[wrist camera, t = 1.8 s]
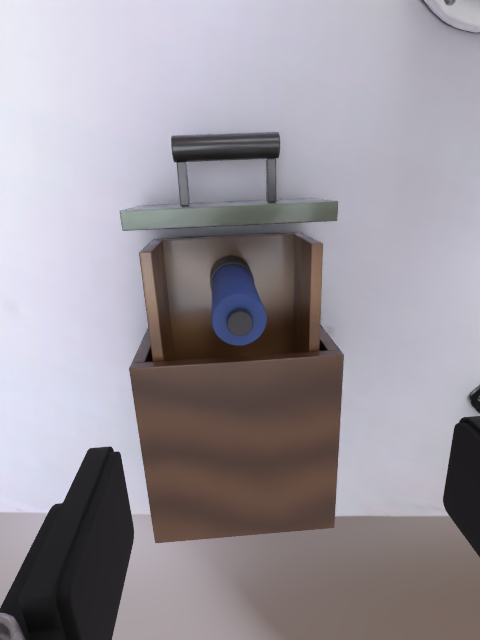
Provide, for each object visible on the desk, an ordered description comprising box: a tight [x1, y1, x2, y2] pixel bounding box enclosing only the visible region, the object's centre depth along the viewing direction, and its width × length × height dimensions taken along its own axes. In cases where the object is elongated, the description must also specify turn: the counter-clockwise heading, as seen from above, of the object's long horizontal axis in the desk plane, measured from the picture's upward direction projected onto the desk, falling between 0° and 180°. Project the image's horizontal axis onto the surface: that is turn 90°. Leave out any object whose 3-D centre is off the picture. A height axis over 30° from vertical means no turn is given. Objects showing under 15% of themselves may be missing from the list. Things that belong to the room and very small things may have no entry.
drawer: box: [120, 132, 338, 362], centre depth 29 cm, size 19×14×7 cm
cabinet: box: [129, 325, 344, 543], centre depth 33 cm, size 16×15×9 cm
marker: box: [210, 256, 267, 345], centre depth 26 cm, size 3×3×12 cm
